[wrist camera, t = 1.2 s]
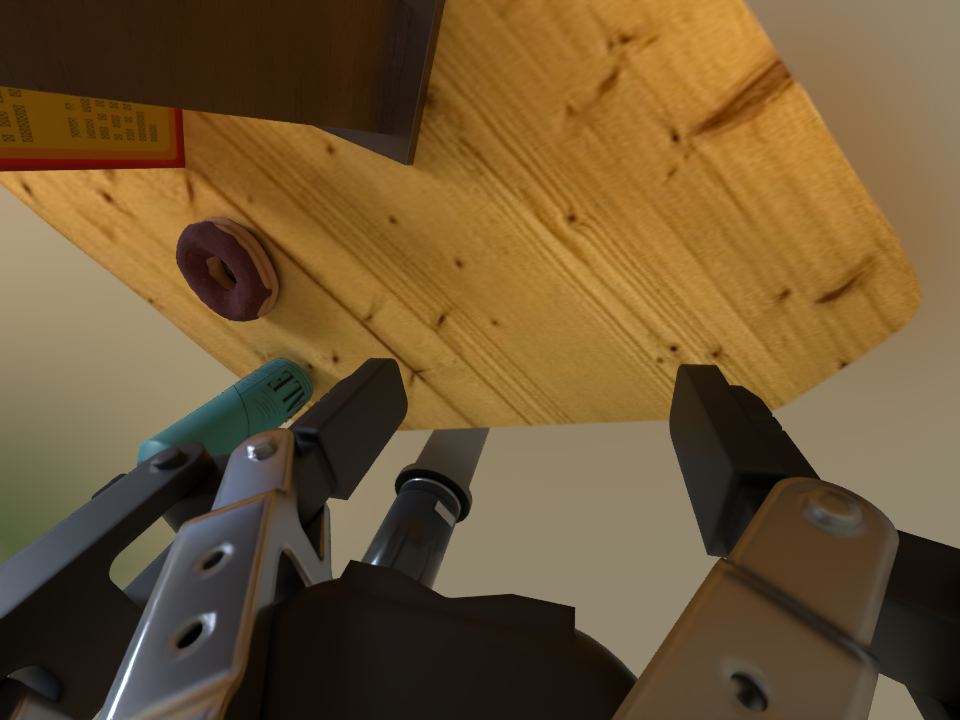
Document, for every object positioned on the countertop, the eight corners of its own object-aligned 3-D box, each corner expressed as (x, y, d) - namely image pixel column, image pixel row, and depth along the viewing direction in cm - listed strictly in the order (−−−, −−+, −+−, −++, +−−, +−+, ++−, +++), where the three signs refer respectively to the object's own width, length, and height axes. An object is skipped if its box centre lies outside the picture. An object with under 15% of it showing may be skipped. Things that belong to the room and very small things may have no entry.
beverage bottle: (268, 370, 43) (66, 504, 26) (288, 339, 40) (71, 471, 23) (310, 404, 44) (142, 554, 27) (333, 378, 41) (158, 530, 24)
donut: (185, 218, 35) (143, 224, 32) (263, 212, 32) (226, 218, 29) (228, 312, 40) (196, 326, 37) (299, 313, 37) (271, 328, 34)
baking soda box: (94, 117, 32) (-258, 87, 19) (78, 29, 29) (-369, -86, 15) (184, 167, 32) (-100, 173, 19) (180, 86, 29) (-174, 22, 15)
